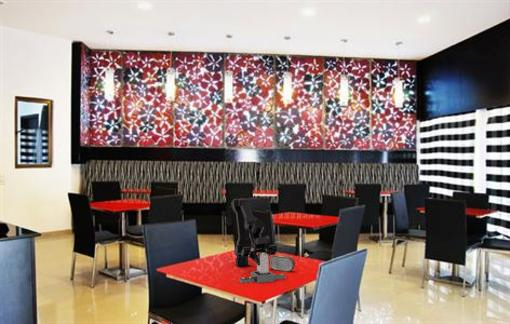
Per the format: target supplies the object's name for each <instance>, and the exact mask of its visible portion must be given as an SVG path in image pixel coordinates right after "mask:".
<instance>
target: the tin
mask: <svg viewBox="0 0 510 324" xmlns="http://www.w3.org/2000/svg"><path fill="white" fill-rule="evenodd" d="M268 266H269V267H270V268H271V270H273V271H276V272H277V271H279V272H286V273H289V272H292V271H293V270H294V269H295V268H296V261H295V259H294V258H293V257H291V256H290V255H281V254H275V255H271V256H270V257H269V264H268Z"/></svg>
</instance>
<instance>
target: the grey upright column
mask: <svg viewBox="0 0 510 324" xmlns="http://www.w3.org/2000/svg"><path fill="white" fill-rule="evenodd" d="M257 257H258V260H259V264H260V265H259V266H258V265H257V264H256V271H257V274H258V275H268V271H269V264H268V254H267V253H265V252H260V253H257Z"/></svg>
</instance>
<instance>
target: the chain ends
mask: <svg viewBox="0 0 510 324" xmlns="http://www.w3.org/2000/svg"><path fill="white" fill-rule="evenodd" d="M286 277H287V276H286V275H285V274H284V273H278V274H275V273H273V272H271V271H270V270H268V275H258V274H257V270H254V271H251V272H250V276H248V277H244V276H242V277H239V278H238V279H239V282H240V283H241V284H244V283H245V284H246V283H247V284H249V283H256V282H257V283H256V284H262V283H271V282H272V283H273V282H275V281H276V280H278V281H279V280H286Z"/></svg>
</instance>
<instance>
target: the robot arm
mask: <svg viewBox="0 0 510 324" xmlns="http://www.w3.org/2000/svg"><path fill="white" fill-rule="evenodd" d="M230 203H231V204H230V205H231V207H232V211H233V212H234V214H235V217H236V226H237V237H238V239H237V241H236V246H235V248H234V251H233V253H234V255H235V264H234V265H235V266H236V267H238V268H242V267H250V264H249V259H251V260H252V261H253V262H255V265H256V266H257V265H258V266H259V265H260V264H259V260H258V257H257V253H260V252H265V253H267V254H268V265H269V260H270V257H271V256H273V255H277V252H278V250H279V248H278V246H277V244H272V245H271V244H270V245H268V247H266V245H267V244H268V243H270V241H271V240H270V236H269V235H265V236H262V235H261V234H262V233H263V231H264V229H265V227H266V224H265V222H264V221H263V220H262V219H260V217H259V218H257V217H256V216H254V214H253V213H252V209H251V208H250V205H249V200H248V199H246V198H234V199H232V200H231V202H230ZM246 231H248V232H249V233H248V237H247V232H246ZM248 238H249V239H248Z"/></svg>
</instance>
